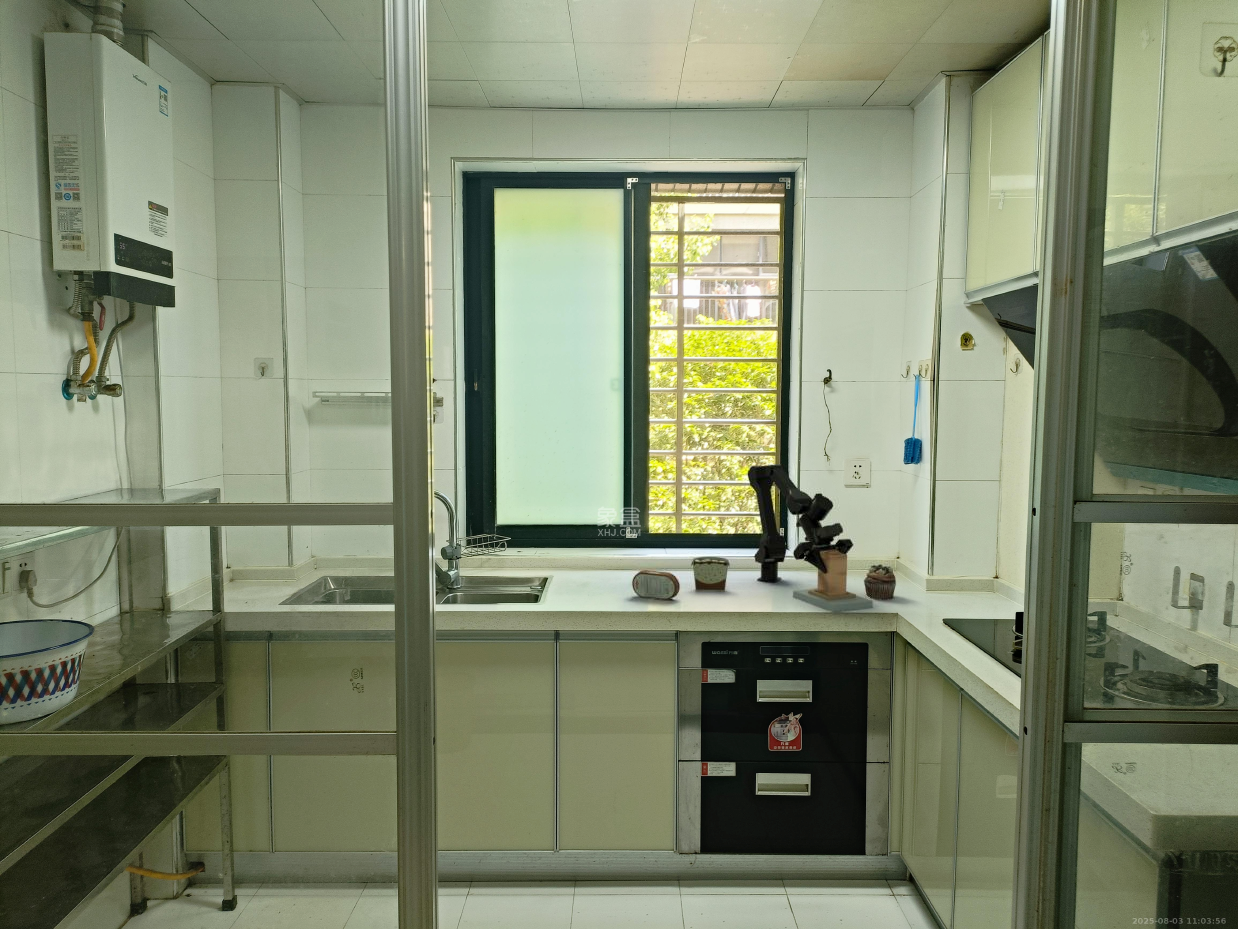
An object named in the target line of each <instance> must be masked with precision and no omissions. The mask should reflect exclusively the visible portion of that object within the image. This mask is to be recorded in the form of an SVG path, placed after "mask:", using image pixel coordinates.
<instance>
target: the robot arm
mask: <svg viewBox="0 0 1238 929" xmlns="http://www.w3.org/2000/svg"><path fill="white" fill-rule="evenodd" d="M747 478H748V481H749V484H750V487H751V488H752V489H753V490H754V491H755V494H756V499H757V505H758V512H759V518H760V519H759V520H760V526H761V531H762V534H761V537H760V540H759V548H758V550H757V551H756V553H755V554H754V561H755V563H759V564H760V577H758V578H757V579H756V581H759V580H760V581H761V582H768V581H770V582H771V583H776V581H777V582H778V580H779V581H780V580H782V577H779V563H784V561H785V559H786V554H787V544H786V537H785V536H784V535H781V534H780V533H779V531H778V527H777V526H778V525H777V522H776V515H775V509H774V502H773V496H772V487H773V485H775V486H776V487H777V489H778V490H779V492H780V493H781V494H782V495H783V497H784V498H785V506H786V508H787V509H788V512H789V514H791V515H793V516H800V515H801V516H800V517H798V518H797V522H796V525H795V526H796V528H802V531H803V533H804V534H805V538H804V540H805V541H800V542H799V543H798V544H797V546H796V547H795V549H794V550H793V553H792V554H793V557H794V559H795V560H796V561H797V560H803V561H804V562H807V563H809V564H810V565H812V566H814V567H815V568H816V569H817V570H818V569H819V570H821V571H822V572H823V573H825V574H826V573H827V569H826V566H825V564H824V562H823V560H822V558H821V556H820V552H827V550H838V551H839V552H840V553H843V554H847V555H848V553H849V551H850V550H851V549H852V547H853V546H854V543H853V541H852V540H851V539H850V538H840V539H838V540H837V541H836V542H835V543H834V544H831V543H832V542H834V541H835V538H836V537H838V536H840V535H841V534H843V532H844V529H843V526H842V524H841V523H840V522H836V523H833V524H829V525H824V526H823V525H822V523H821V521H824V520H825V519H826V518H827V516H828V514H830V512H831V510H833V508H834V503H833V501H832V500H831V499H830V498H828V497H826V496H825V495H823V493H821V492H820V493H815V495H814V496H813V497H811V496H810V495H809V494H808V493H806V492H805V491H802V490H800V489H799V488H798V487H797V485H796V484H795V483H794V482H793V480H792V479H791V478H790V477H789V476H788V474H787V473H786V472H785V471H784V468H783V465H781V464H768V465H752V466H750V467H749V469H748V470H747Z"/></svg>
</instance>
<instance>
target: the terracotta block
mask: <svg viewBox="0 0 1238 929" xmlns="http://www.w3.org/2000/svg"><path fill="white" fill-rule="evenodd" d="M820 556H821V558H822V560H823V562H824V564H825V566H826V569H827V573H826V574H825V573H823V572H822V571H821V570H819V569H818V568H817V588H818V589H817V592H820V593H823V594H825V595H828V596H834V595H844V594H846V591H847V579H848V578H847V577H848V553H847V554H843V553H840V552H839V551H838V550H827V552H820Z"/></svg>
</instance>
